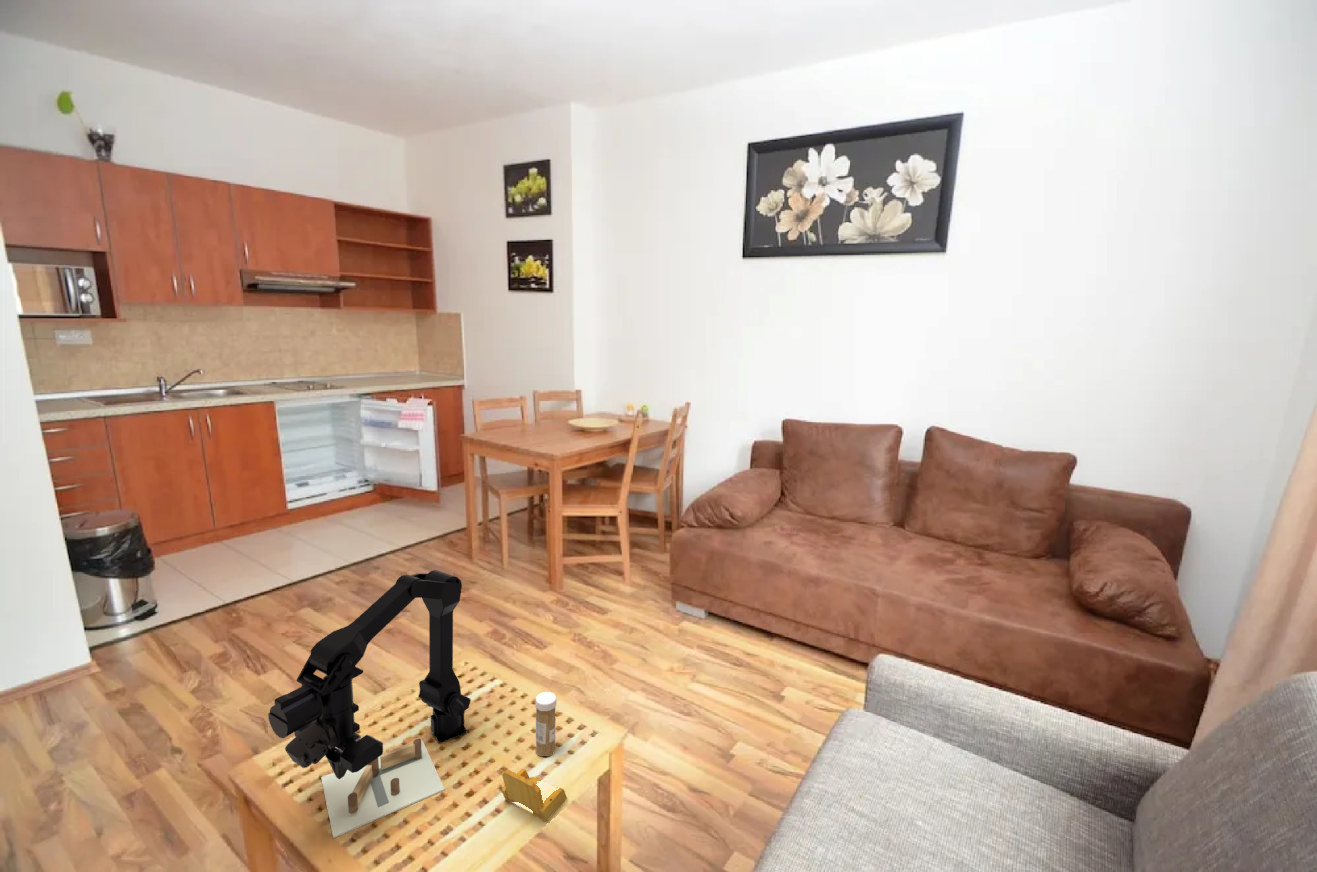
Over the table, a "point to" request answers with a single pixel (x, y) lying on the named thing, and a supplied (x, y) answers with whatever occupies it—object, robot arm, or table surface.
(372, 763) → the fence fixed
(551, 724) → the sprinkles bottle
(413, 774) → the card
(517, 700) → the table surface
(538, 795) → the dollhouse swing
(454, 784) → the table surface
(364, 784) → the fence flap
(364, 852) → the table surface
